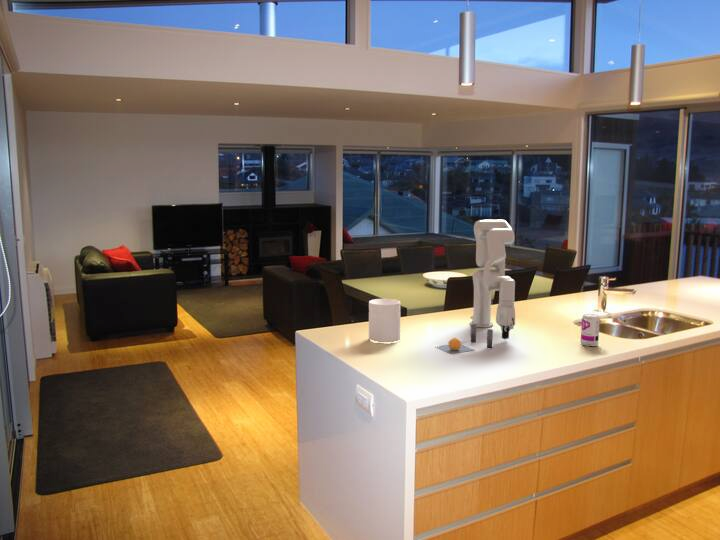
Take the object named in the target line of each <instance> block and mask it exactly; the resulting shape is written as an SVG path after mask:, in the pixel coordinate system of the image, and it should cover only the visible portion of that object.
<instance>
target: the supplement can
mask: <svg viewBox="0 0 720 540" xmlns="http://www.w3.org/2000/svg"><path fill="white" fill-rule="evenodd" d="M600 319H601V318H600V317H599V315H597V314H592V313H585V314H583V315H582V318H581V328H580V329H581V330H580V334H581V335H580V344H581V345H582V346H583V345H585V346H584V347H587V346H596V347H597V346H598V345H599V338H600V335H599V334H600V322H601V321H600Z"/></svg>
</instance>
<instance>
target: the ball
mask: <svg viewBox="0 0 720 540" xmlns="http://www.w3.org/2000/svg"><path fill="white" fill-rule="evenodd" d="M448 344H449V348H450V349H451V350H453V351H457V350H459V349H460V347H461V344H462V342H461V340H460V339H459V338H456V337H453V338H451V339H449V342H448Z"/></svg>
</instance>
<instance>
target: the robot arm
mask: <svg viewBox="0 0 720 540" xmlns="http://www.w3.org/2000/svg"><path fill="white" fill-rule="evenodd" d="M473 234H474V238H475V240H476V241H475V243H476V245H475V248H476V249H475V263H476V266H478V267H480V268H481V269H477V270H474V271H473V273H472V284H473V310H472V311H473V315H472V316H470V317H469V318H470V319H471V320H472V321H471V322H470V326H471V324H476V328H491V327H493V326H494V323H493V322H492V321H491V314H492V313H491V312H492V311H491V310H492V308H491V307H492V294H491V291H492V292H493V291H494V292H496V291H497V292H498V291H499V293H498V295H499V296H498V304H497V307H496V314H495V323H496V324H497V325H498V326H500V330H501V339H503V340H508V339H510V331H511V330H513V329H514V326H515V325H516V309H515V308H516V307H515V296H516V295H515V293H516V292H515V290H516V281H515V279H513V278H512V277H511V276H509V275H506V274H505V273H506V258H507V254H506V247H505V245H512V244H513V243H514V242H515V237H516V236H515V233H514V230H513V228H512V226H511V225H510V224H509V223H508V222H507V220H505V219H479V220H477V221H475V222H474V226H473ZM482 268H483V269H482Z"/></svg>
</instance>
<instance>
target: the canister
mask: <svg viewBox="0 0 720 540" xmlns="http://www.w3.org/2000/svg"><path fill="white" fill-rule="evenodd" d="M401 303H402V302H401V301H400V300H398V299H393V298H375V299H371V300H369V301H368V340H369V339H371V340H374V341H378V342H394V341H398V340H400V341H401Z"/></svg>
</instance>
